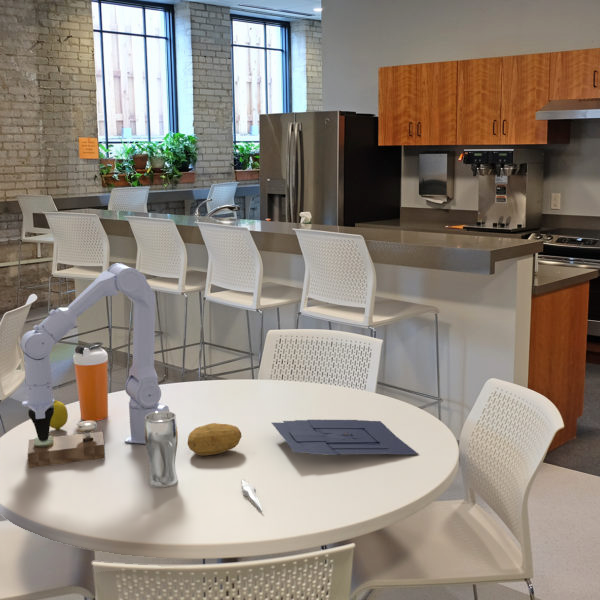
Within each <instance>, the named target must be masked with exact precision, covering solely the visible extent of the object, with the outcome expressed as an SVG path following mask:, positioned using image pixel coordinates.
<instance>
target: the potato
mask: <svg viewBox="0 0 600 600" xmlns="http://www.w3.org/2000/svg"><path fill="white" fill-rule="evenodd" d="M187 436H188V437H187V446H188V448H189V450H190V451H192V452H193V453H194V454H196V455H199V456H210V455H211V456H212V455H217V454H222V453H225V452H228V451H231V450H233V449H234V448H236V447H237V446H238V444H240V443H239V442H240V441H241V439H242V432H241V430H240V428H239V427H237V426H236V425H232V424H227V423H216V422H213V423H208V424H205V425H202V426H198V427H195V428H194V429H193V430H192V431H191V432H189V434H188V435H187Z"/></svg>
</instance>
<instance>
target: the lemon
mask: <svg viewBox="0 0 600 600" xmlns="http://www.w3.org/2000/svg"><path fill="white" fill-rule="evenodd" d="M53 406H54V413H53V416H52V418H51V422H50V428H53V429H55V430H56V431H59V430H60V429H61V428H63V427H64V426H65V425H66V424H67V422H68V417H69V416H68V415H69V414H68V409H67V407H66V405H65V404H64V403H63V402H62V401H58V400H57V399H56V400H55V399H54V404H53Z"/></svg>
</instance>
